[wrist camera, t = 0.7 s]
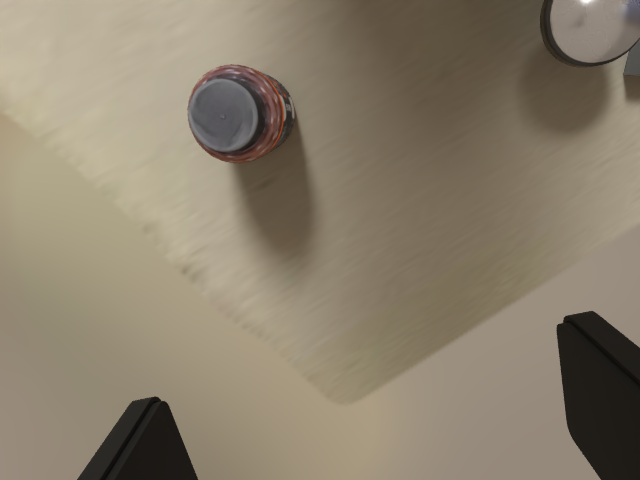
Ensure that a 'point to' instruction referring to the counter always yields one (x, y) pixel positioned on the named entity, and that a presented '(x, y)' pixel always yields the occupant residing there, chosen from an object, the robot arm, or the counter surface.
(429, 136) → the counter surface
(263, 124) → the supplement bottle
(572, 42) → the metal mushroom knob
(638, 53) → the socket collar
